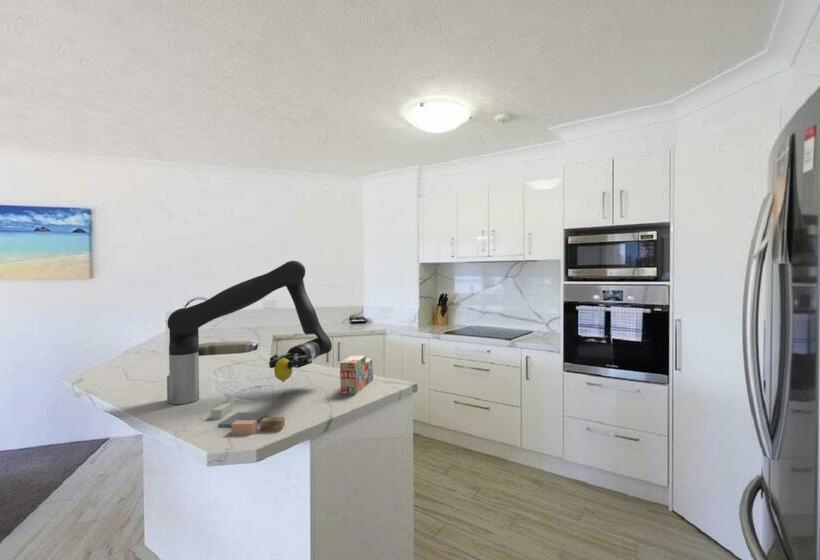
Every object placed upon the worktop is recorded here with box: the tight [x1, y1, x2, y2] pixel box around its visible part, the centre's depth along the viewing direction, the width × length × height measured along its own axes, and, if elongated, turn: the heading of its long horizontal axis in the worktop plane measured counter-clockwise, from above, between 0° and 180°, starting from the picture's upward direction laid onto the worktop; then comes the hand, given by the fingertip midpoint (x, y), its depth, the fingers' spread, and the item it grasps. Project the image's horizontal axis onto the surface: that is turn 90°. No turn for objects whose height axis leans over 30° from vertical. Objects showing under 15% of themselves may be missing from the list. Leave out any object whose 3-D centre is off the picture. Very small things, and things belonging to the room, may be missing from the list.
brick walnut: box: [259, 416, 286, 432], centre depth 113 cm, size 6×3×3 cm, turn 91°
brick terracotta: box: [230, 420, 258, 435], centre depth 111 cm, size 6×3×3 cm, turn 89°
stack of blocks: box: [339, 355, 374, 395], centre depth 156 cm, size 21×6×12 cm, turn 168°
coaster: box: [218, 411, 268, 428], centre depth 120 cm, size 10×10×1 cm
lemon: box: [273, 357, 293, 383], centre depth 127 cm, size 6×6×8 cm
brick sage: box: [211, 403, 232, 420], centre depth 125 cm, size 6×3×3 cm, turn 177°
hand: (279, 365), depth 125 cm, fingers closed on lemon, 5 cm apart
